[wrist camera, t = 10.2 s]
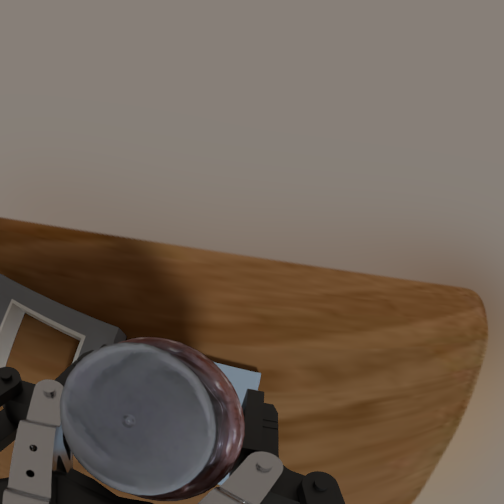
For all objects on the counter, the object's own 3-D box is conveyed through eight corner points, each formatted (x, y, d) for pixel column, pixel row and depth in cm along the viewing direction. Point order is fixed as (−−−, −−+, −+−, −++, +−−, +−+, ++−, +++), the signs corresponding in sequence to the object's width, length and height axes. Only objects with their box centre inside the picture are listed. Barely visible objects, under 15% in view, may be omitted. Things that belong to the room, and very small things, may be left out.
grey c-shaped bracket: (-48, 351, 15) (-66, 341, 12) (-15, 269, 20) (-30, 254, 18) (92, 451, 15) (75, 455, 12) (126, 336, 20) (115, 324, 18)
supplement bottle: (207, 480, 13) (201, 566, 3) (117, 436, 13) (-1, 440, 4) (245, 398, 16) (296, 365, 7) (157, 357, 17) (91, 268, 7)
